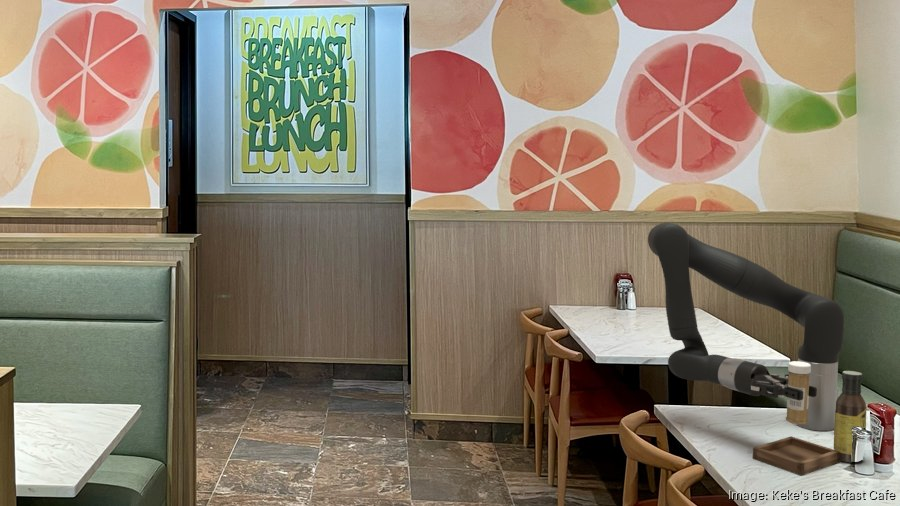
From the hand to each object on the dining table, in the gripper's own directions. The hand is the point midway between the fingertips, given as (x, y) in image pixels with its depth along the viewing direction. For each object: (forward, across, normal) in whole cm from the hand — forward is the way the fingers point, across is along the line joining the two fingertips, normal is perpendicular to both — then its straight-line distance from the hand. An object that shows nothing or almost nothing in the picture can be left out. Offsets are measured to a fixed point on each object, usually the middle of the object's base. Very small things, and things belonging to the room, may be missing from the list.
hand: (808, 394), depth 169 cm
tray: (-2, 0, +16) cm, 16 cm away
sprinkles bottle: (-3, 0, +7) cm, 8 cm away
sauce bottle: (+4, +11, +16) cm, 20 cm away
